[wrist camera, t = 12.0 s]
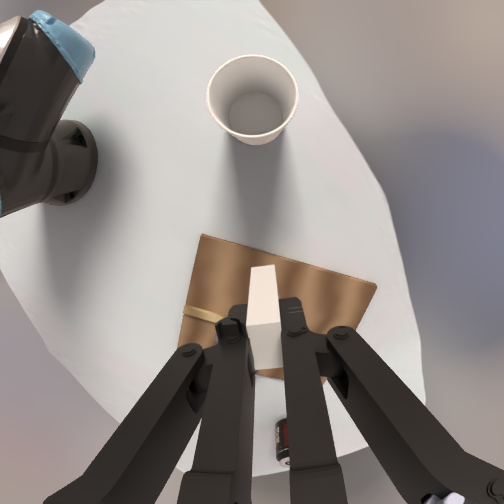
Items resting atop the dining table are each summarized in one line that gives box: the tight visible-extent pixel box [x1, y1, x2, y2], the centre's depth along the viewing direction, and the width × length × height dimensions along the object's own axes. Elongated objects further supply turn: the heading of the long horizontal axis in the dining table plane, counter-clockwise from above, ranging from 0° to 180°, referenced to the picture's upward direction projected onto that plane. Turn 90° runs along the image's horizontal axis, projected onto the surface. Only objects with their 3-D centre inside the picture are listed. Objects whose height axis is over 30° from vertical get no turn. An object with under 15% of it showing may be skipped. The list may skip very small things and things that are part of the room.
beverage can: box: [276, 418, 290, 467], centre depth 52 cm, size 7×7×12 cm
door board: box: [177, 234, 377, 385], centre depth 45 cm, size 30×24×5 cm
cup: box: [206, 55, 299, 145], centre depth 29 cm, size 8×8×16 cm
